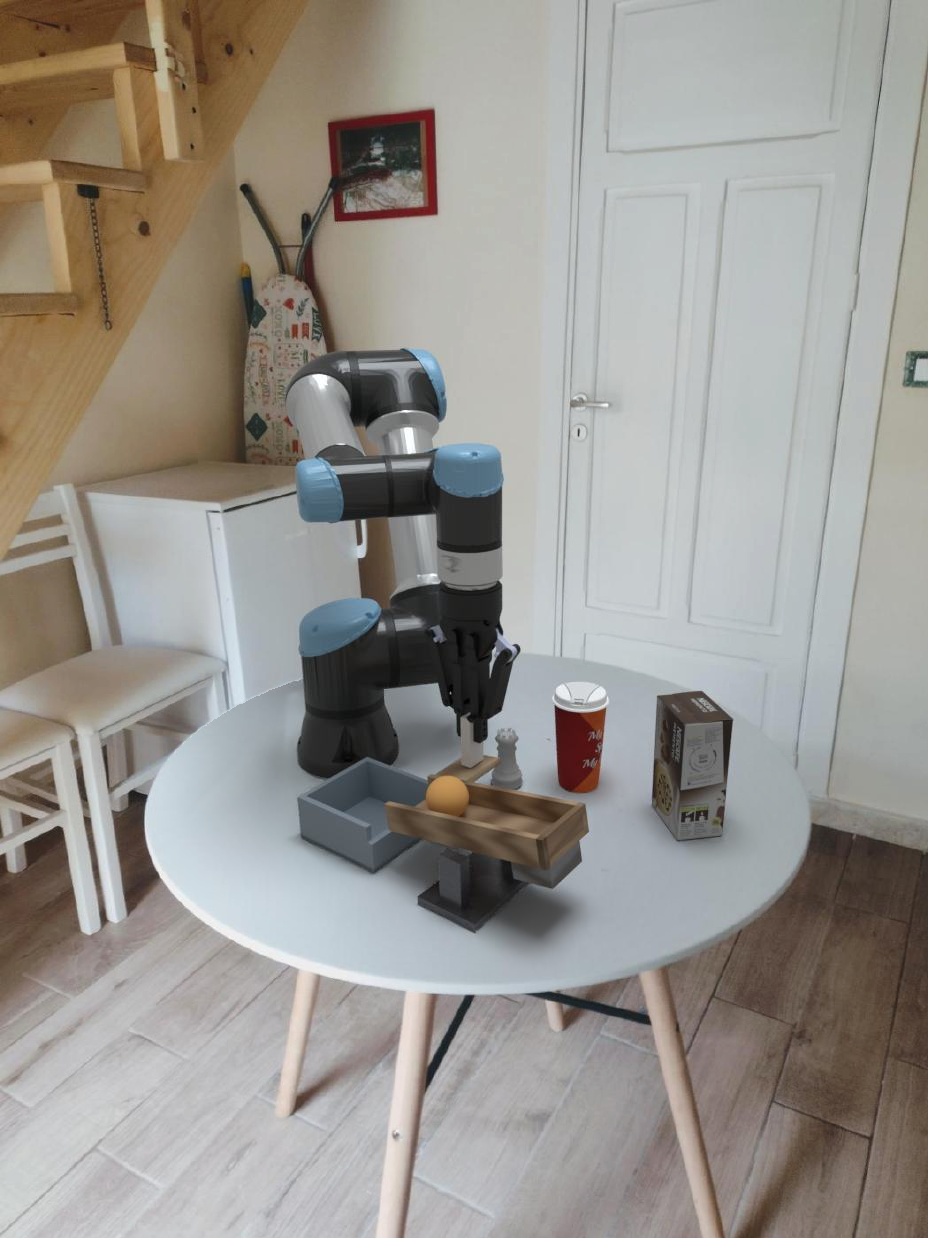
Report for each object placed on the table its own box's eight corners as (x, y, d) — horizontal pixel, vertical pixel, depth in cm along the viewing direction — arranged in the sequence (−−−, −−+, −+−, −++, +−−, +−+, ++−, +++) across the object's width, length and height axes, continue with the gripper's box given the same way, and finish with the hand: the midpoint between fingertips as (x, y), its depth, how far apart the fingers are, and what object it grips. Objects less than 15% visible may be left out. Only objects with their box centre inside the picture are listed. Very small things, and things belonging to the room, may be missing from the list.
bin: (301, 838, 110) (297, 796, 108) (369, 795, 120) (367, 757, 118) (374, 873, 103) (371, 830, 101) (440, 825, 112) (439, 784, 110)
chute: (622, 827, 101) (616, 776, 99) (550, 896, 89) (542, 840, 88) (472, 797, 114) (465, 752, 113) (393, 853, 103) (384, 804, 101)
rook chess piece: (513, 795, 119) (513, 742, 116) (485, 786, 121) (484, 734, 119) (528, 780, 123) (528, 729, 120) (500, 772, 125) (500, 722, 122)
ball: (413, 784, 100) (446, 789, 97) (440, 766, 104) (473, 771, 101) (421, 824, 101) (454, 830, 98) (448, 805, 105) (481, 810, 102)
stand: (417, 904, 98) (415, 850, 95) (495, 841, 109) (495, 792, 106) (474, 932, 93) (473, 876, 91) (550, 864, 104) (550, 813, 102)
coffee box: (724, 836, 109) (735, 719, 103) (676, 842, 108) (684, 724, 103) (694, 798, 117) (703, 688, 112) (649, 803, 116) (655, 693, 111)
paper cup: (604, 799, 118) (608, 705, 113) (547, 794, 119) (549, 701, 114) (607, 771, 125) (610, 681, 120) (553, 766, 126) (555, 677, 122)
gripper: (406, 579, 102) (413, 759, 110) (496, 599, 94) (497, 790, 102) (446, 564, 107) (450, 737, 115) (534, 582, 100) (532, 765, 108)
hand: (472, 762), depth 109 cm, fingers closed
